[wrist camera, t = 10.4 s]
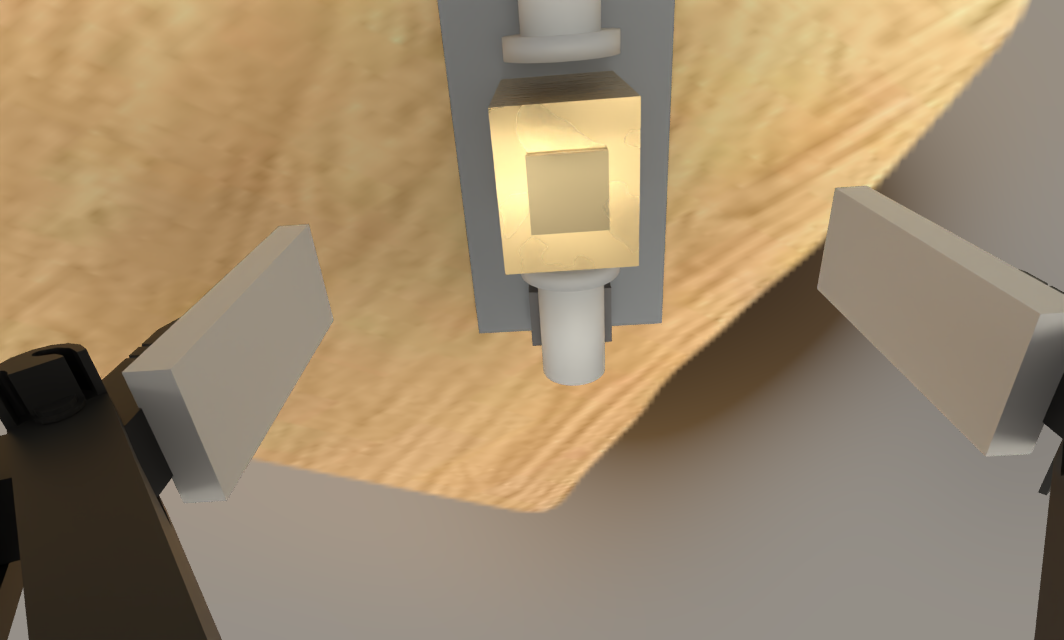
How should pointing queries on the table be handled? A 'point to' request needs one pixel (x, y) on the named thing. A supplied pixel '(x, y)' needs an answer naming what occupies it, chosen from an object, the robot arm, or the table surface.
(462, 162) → the grey rod holder
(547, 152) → the coupler
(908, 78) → the table surface
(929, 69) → the table surface
